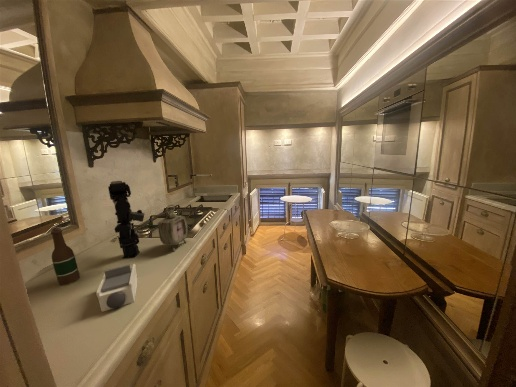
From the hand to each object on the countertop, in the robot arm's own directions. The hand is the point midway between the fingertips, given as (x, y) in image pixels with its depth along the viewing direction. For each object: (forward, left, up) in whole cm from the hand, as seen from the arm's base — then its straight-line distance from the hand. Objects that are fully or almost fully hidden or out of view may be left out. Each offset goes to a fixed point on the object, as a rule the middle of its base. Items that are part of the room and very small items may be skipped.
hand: (128, 239), depth 104 cm
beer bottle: (-23, -10, -13) cm, 28 cm away
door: (+8, -25, -7) cm, 27 cm away
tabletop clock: (+16, +16, -13) cm, 26 cm away
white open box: (+7, -24, -13) cm, 28 cm away
